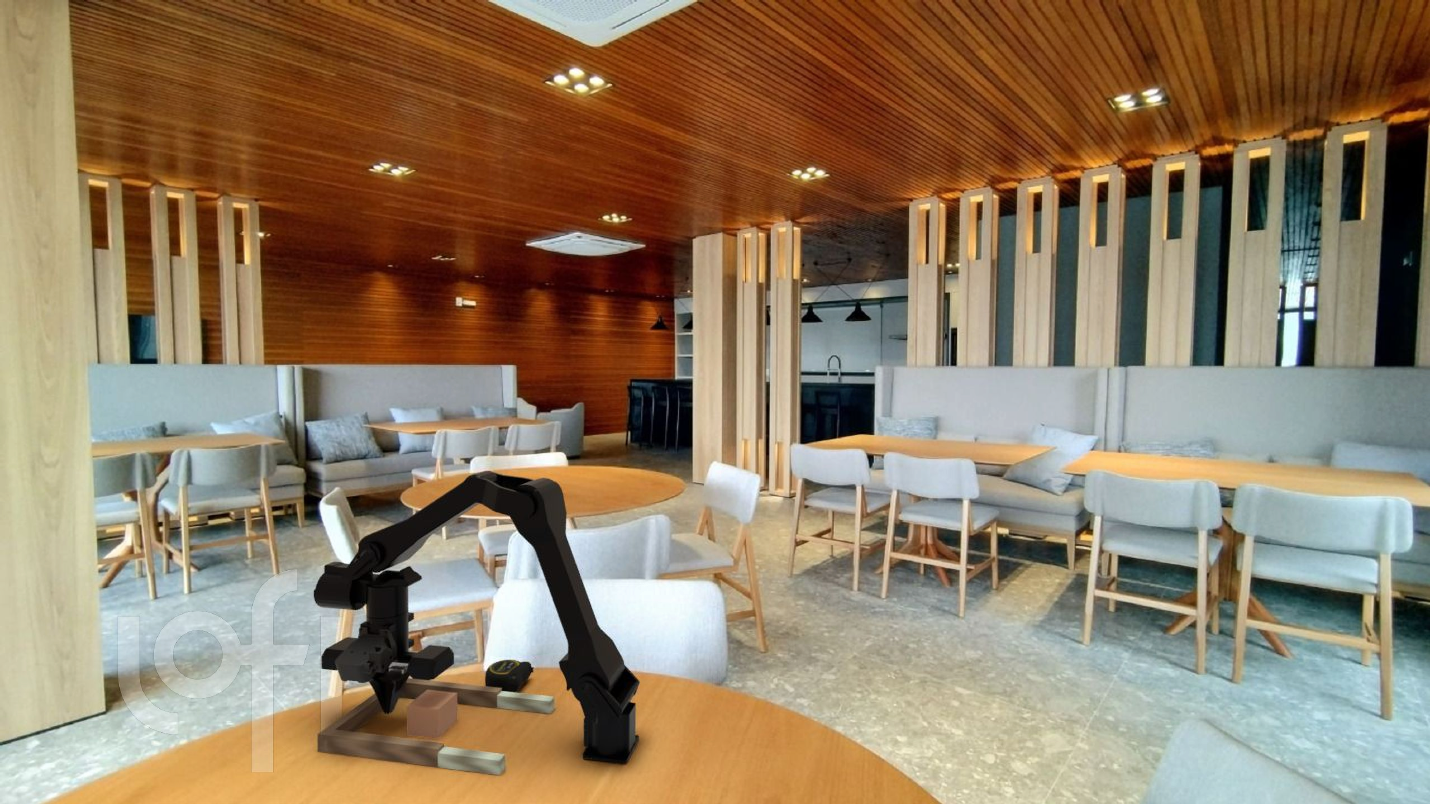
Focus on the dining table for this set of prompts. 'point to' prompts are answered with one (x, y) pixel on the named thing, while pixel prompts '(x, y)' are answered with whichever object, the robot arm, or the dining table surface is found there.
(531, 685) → the dining table surface
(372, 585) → the robot arm
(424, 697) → the block
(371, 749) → the bay
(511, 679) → the tape measure
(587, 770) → the dining table surface
